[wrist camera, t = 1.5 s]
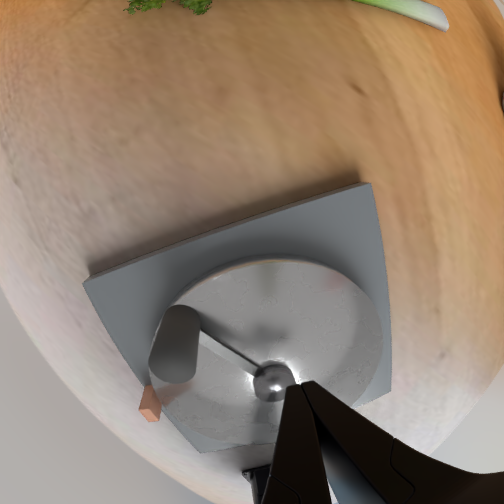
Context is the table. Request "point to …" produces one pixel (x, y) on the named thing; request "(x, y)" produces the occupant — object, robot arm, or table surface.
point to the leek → (402, 3)
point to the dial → (261, 344)
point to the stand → (235, 247)
